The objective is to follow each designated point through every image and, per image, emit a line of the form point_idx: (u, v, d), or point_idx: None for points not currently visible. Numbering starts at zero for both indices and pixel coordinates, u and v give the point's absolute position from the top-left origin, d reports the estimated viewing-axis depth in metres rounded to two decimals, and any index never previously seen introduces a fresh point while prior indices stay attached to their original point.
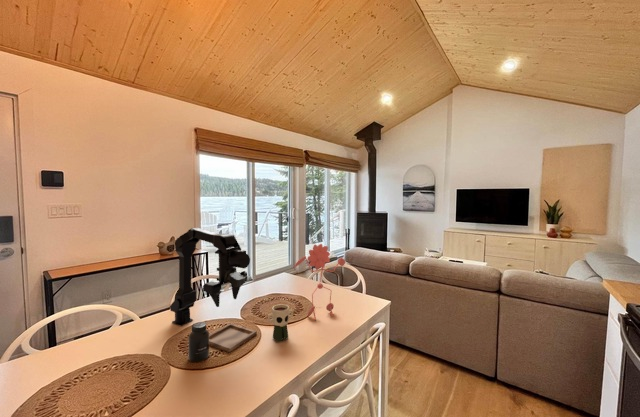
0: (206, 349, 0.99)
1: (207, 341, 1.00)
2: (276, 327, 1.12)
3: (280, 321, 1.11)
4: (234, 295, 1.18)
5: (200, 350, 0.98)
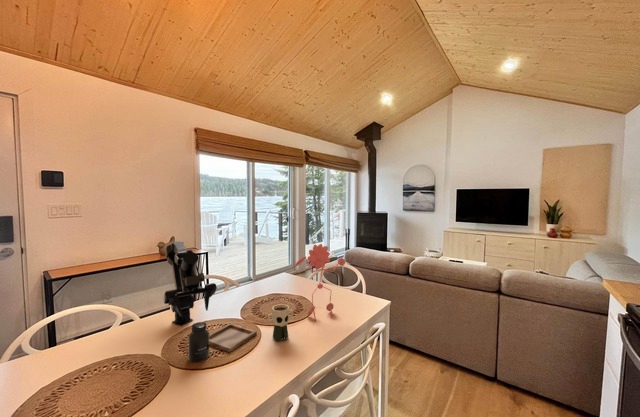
0: (206, 349, 0.99)
1: (207, 341, 1.00)
2: (276, 327, 1.12)
3: (280, 321, 1.11)
4: (205, 306, 1.10)
5: (200, 350, 0.98)
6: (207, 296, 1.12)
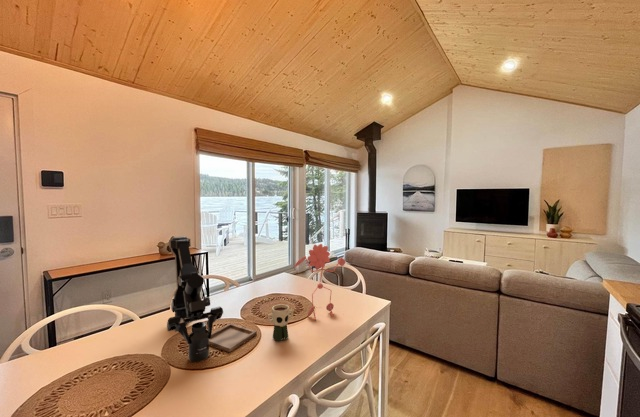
0: (206, 349, 0.99)
1: (207, 341, 1.00)
2: (276, 327, 1.12)
3: (280, 321, 1.11)
4: None
5: (200, 350, 0.98)
6: (210, 322, 1.04)
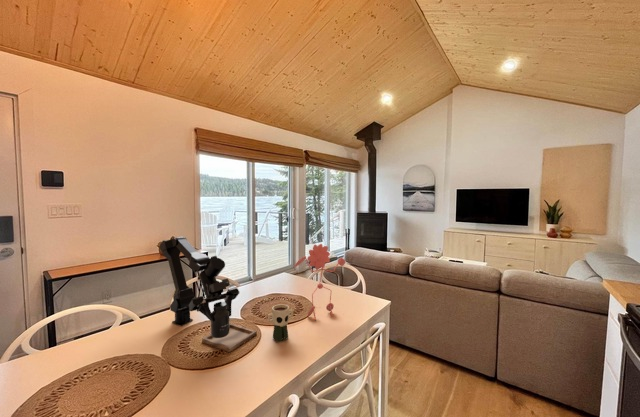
0: (228, 326, 1.08)
1: (228, 318, 1.08)
2: (276, 327, 1.12)
3: (280, 321, 1.11)
4: None
5: (223, 327, 1.06)
6: (229, 302, 1.12)
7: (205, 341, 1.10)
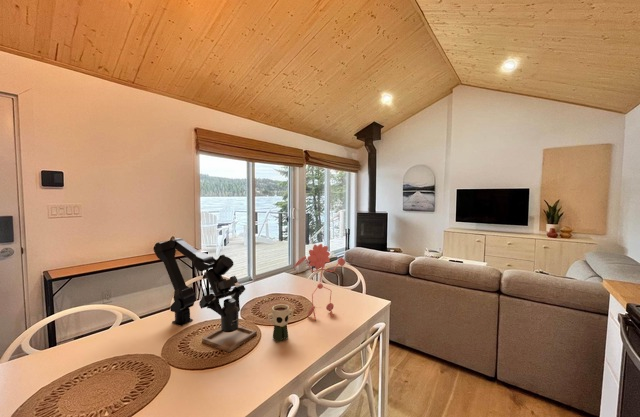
0: (237, 320, 1.13)
1: None
2: (276, 327, 1.12)
3: (280, 321, 1.11)
4: None
5: (234, 321, 1.11)
6: (237, 298, 1.17)
7: (205, 341, 1.10)
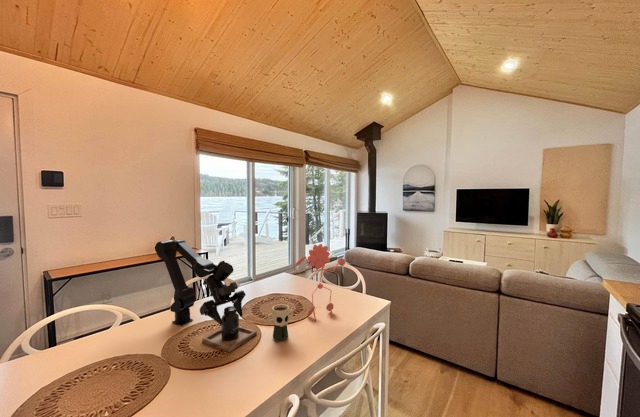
0: (238, 329, 1.14)
1: (238, 322, 1.14)
2: (276, 327, 1.12)
3: (280, 321, 1.11)
4: (239, 313, 1.17)
5: (234, 330, 1.12)
6: (239, 303, 1.18)
7: (205, 341, 1.10)
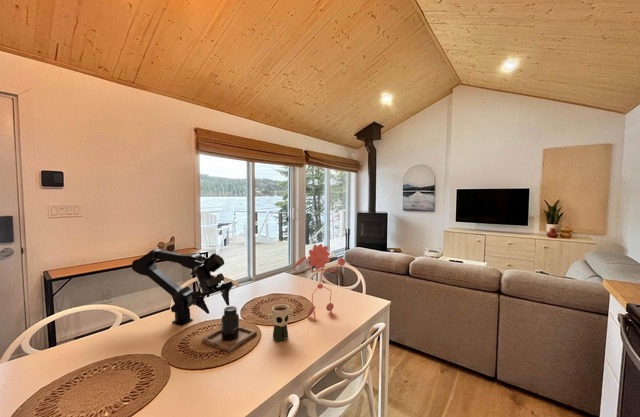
0: (238, 329, 1.14)
1: (238, 322, 1.14)
2: (276, 327, 1.12)
3: (280, 321, 1.11)
4: (226, 302, 1.23)
5: (234, 330, 1.12)
6: (226, 293, 1.24)
7: (205, 341, 1.10)
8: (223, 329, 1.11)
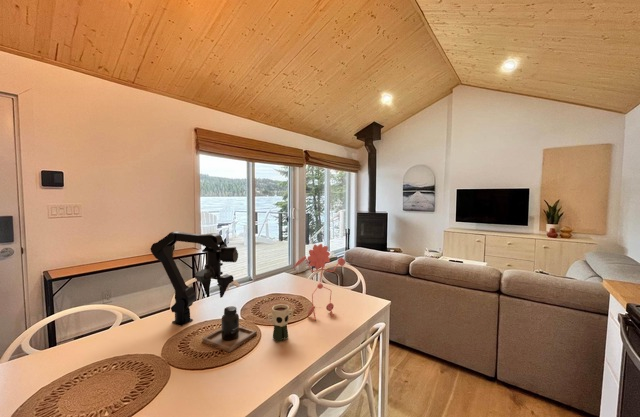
0: (238, 329, 1.14)
1: (238, 322, 1.14)
2: (276, 327, 1.12)
3: (280, 321, 1.11)
4: None
5: (234, 330, 1.12)
6: (220, 287, 1.22)
7: (205, 341, 1.10)
8: (223, 329, 1.11)
